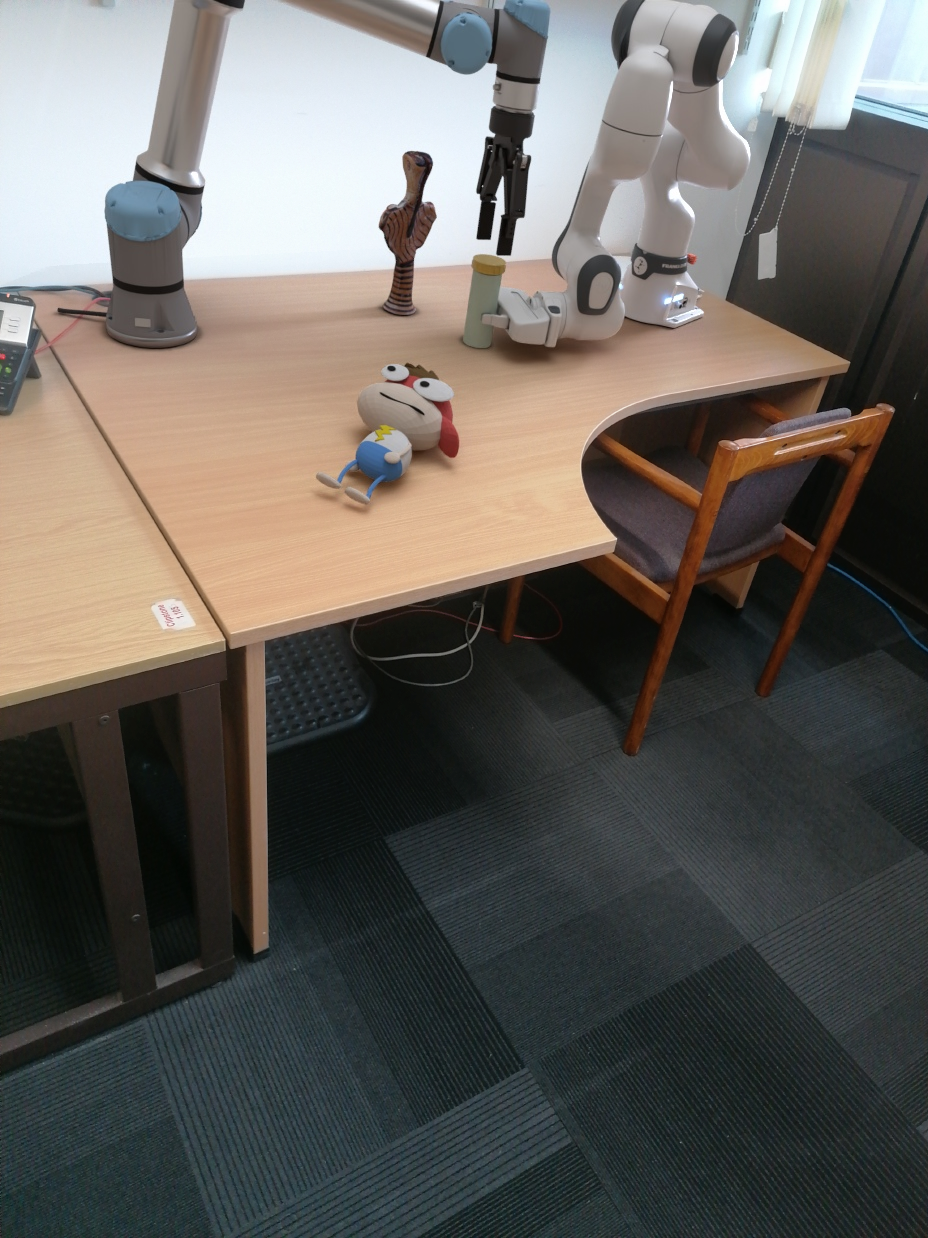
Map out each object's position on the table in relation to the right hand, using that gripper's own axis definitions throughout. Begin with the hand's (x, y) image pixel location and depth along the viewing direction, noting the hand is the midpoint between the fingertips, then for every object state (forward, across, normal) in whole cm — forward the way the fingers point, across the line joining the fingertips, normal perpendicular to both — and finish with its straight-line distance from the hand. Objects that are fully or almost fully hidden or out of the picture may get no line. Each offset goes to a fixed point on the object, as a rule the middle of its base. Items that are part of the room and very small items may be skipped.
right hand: (477, 311), depth 172 cm
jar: (-1, 0, +6) cm, 6 cm away
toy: (+25, +46, +6) cm, 53 cm away
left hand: (-1, 0, -12) cm, 12 cm away
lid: (-1, 0, -9) cm, 9 cm away
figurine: (+12, -15, +6) cm, 20 cm away
